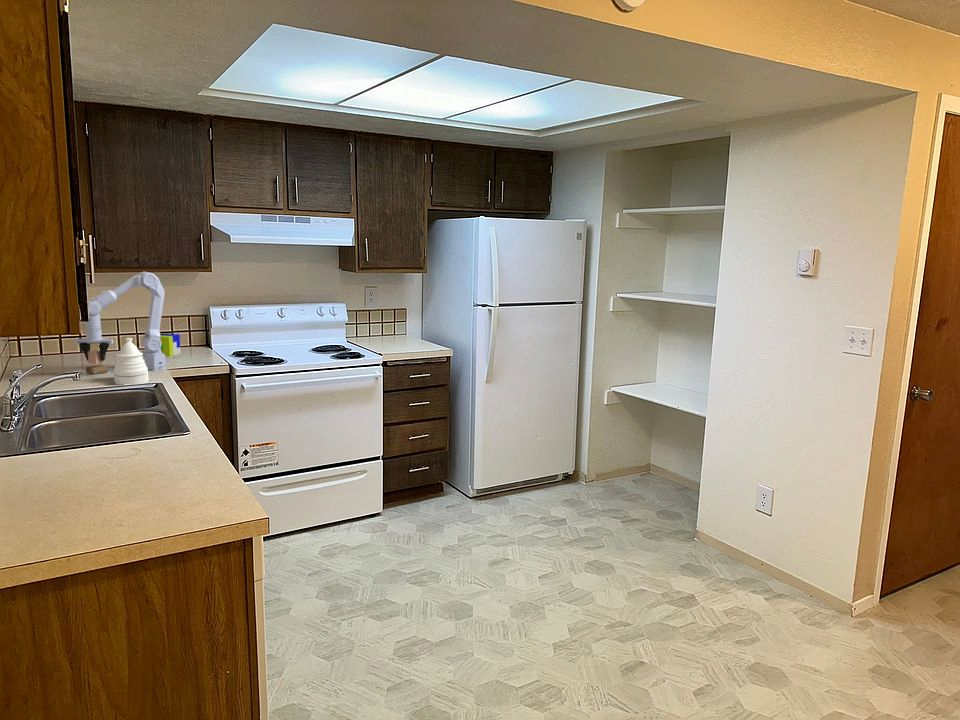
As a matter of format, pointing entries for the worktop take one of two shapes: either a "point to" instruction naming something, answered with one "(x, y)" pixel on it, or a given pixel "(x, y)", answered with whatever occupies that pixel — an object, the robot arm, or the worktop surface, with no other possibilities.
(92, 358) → the top block
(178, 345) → the puzzle toy
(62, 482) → the worktop surface
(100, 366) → the base block
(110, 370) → the build board
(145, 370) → the honey pot
